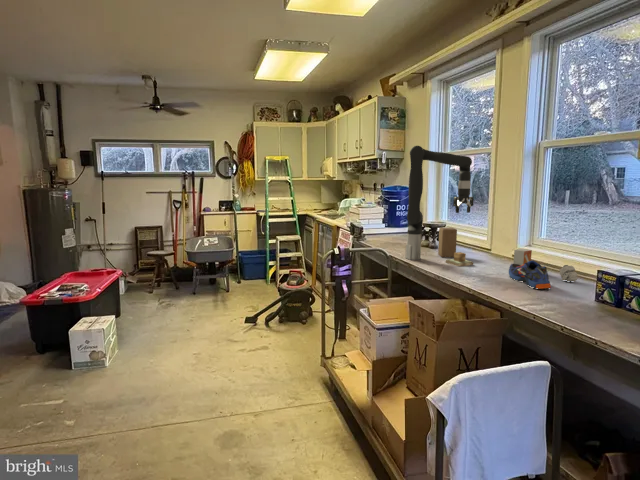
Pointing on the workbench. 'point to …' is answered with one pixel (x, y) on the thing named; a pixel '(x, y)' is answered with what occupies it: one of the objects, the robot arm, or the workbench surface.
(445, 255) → the wooden block
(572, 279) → the beige lumpy piece
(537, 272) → the running shoe
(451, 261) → the pad
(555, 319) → the workbench surface
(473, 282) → the workbench surface
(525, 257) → the small box
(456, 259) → the oak cube
